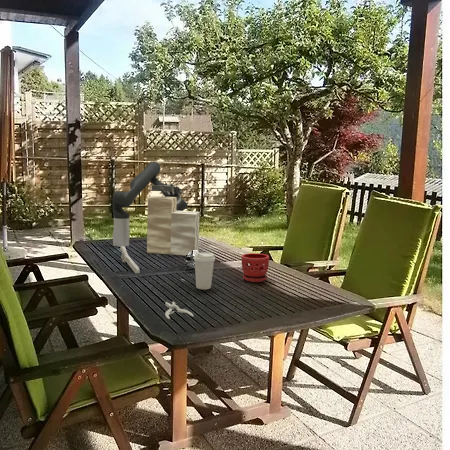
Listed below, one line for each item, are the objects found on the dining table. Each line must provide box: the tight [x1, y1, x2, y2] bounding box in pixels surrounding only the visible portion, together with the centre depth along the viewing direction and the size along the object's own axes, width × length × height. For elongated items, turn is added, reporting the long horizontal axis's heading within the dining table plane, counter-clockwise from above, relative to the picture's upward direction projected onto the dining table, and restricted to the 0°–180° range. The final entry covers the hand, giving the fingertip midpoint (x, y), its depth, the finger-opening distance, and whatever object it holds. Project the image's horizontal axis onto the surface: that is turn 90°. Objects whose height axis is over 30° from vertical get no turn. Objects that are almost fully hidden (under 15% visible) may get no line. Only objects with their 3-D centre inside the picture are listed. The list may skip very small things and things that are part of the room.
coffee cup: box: [193, 252, 216, 290], centre depth 206 cm, size 10×10×15 cm
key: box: [151, 183, 173, 192], centre depth 278 cm, size 20×12×3 cm, turn 172°
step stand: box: [146, 195, 201, 256], centre depth 272 cm, size 12×28×32 cm, turn 82°
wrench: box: [119, 246, 141, 274], centre depth 238 cm, size 8×2×30 cm
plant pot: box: [240, 252, 270, 283], centre depth 222 cm, size 13×13×12 cm
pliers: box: [164, 301, 194, 320], centre depth 176 cm, size 10×2×15 cm
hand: (168, 184), depth 282 cm, fingers closed on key, 2 cm apart
